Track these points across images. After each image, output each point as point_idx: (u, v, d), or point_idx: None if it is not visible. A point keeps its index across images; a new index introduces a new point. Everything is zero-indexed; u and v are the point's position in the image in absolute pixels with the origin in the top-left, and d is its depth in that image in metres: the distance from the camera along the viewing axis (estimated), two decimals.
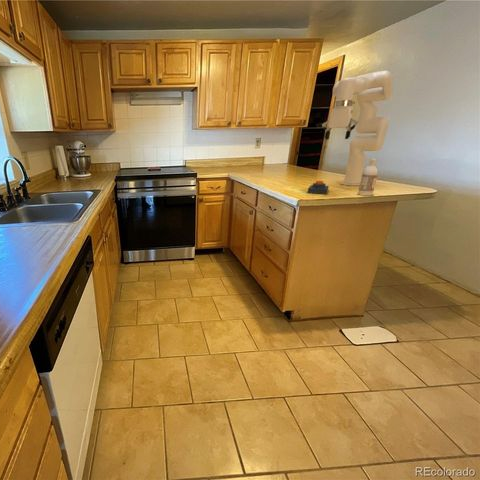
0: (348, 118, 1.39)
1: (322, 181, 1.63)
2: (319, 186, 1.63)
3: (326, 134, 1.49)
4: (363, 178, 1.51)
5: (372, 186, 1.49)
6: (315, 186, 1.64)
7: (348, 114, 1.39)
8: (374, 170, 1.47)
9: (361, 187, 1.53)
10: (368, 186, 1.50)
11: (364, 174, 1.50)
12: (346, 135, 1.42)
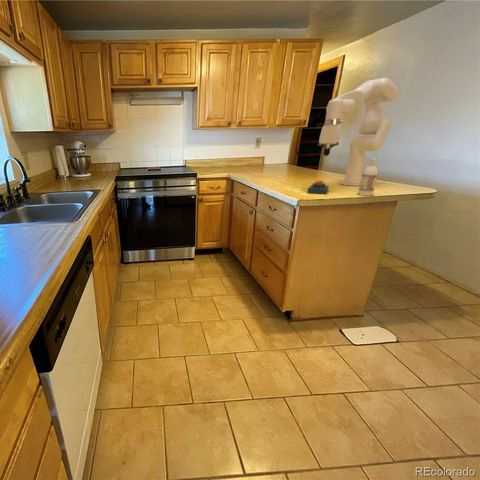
0: (338, 135, 1.53)
1: (322, 181, 1.63)
2: (319, 186, 1.63)
3: (325, 151, 1.60)
4: (363, 178, 1.51)
5: (372, 186, 1.49)
6: (315, 186, 1.64)
7: (338, 131, 1.53)
8: (374, 170, 1.47)
9: (361, 187, 1.53)
10: (368, 186, 1.50)
11: (364, 174, 1.50)
12: (327, 152, 1.59)
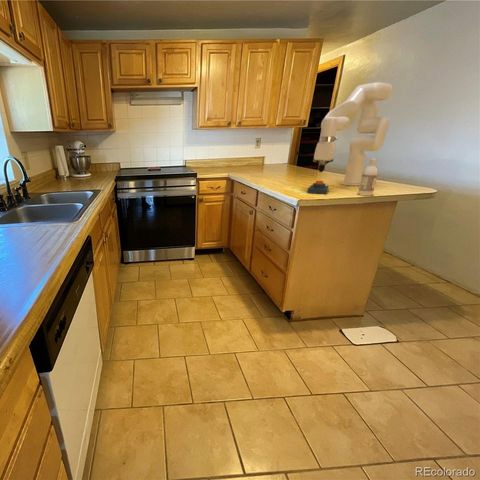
0: (332, 152, 1.54)
1: (322, 181, 1.63)
2: (319, 186, 1.63)
3: (320, 167, 1.61)
4: (363, 178, 1.51)
5: (372, 186, 1.49)
6: (315, 186, 1.64)
7: (332, 149, 1.54)
8: (374, 170, 1.47)
9: (361, 187, 1.53)
10: (368, 186, 1.50)
11: (364, 174, 1.50)
12: (322, 169, 1.60)
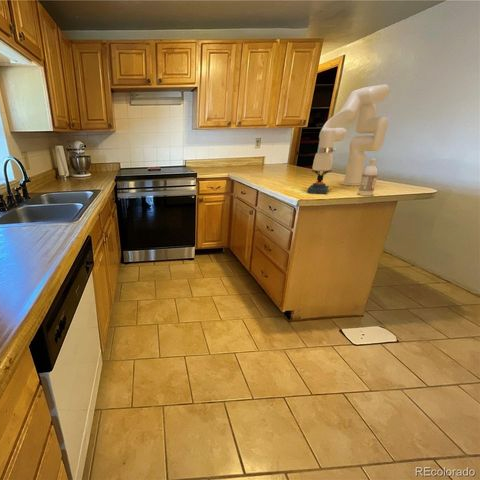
0: (331, 163, 1.57)
1: (322, 182, 1.63)
2: (319, 186, 1.63)
3: (318, 177, 1.63)
4: (363, 178, 1.51)
5: (372, 186, 1.49)
6: (315, 186, 1.64)
7: (331, 159, 1.56)
8: (374, 170, 1.47)
9: (361, 187, 1.53)
10: (368, 186, 1.50)
11: (364, 174, 1.50)
12: (320, 179, 1.63)
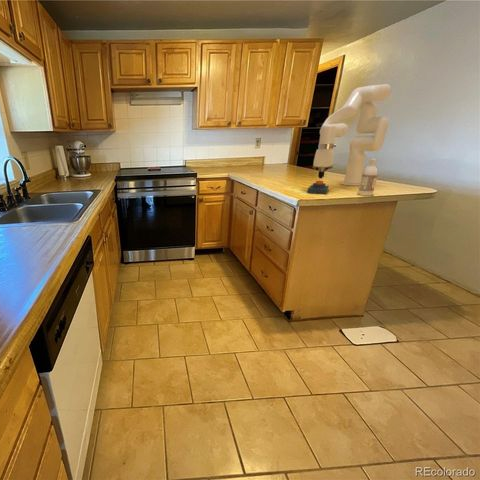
0: (332, 159, 1.56)
1: (322, 181, 1.63)
2: (319, 186, 1.63)
3: (319, 174, 1.62)
4: (363, 178, 1.51)
5: (372, 186, 1.49)
6: (315, 186, 1.64)
7: (331, 156, 1.55)
8: (374, 170, 1.47)
9: (361, 187, 1.53)
10: (368, 186, 1.50)
11: (364, 174, 1.50)
12: (321, 175, 1.62)
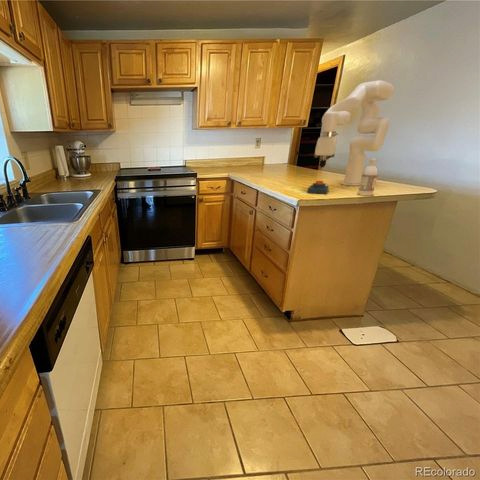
0: (334, 147, 1.54)
1: (322, 181, 1.63)
2: (319, 186, 1.63)
3: (321, 162, 1.60)
4: (363, 178, 1.51)
5: (372, 186, 1.49)
6: (315, 186, 1.64)
7: (334, 144, 1.53)
8: (374, 170, 1.47)
9: (361, 187, 1.53)
10: (368, 186, 1.50)
11: (364, 174, 1.50)
12: (323, 164, 1.59)
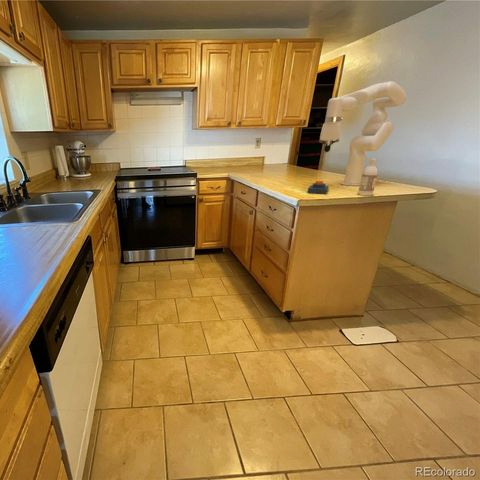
0: (338, 132, 1.60)
1: (322, 181, 1.63)
2: (319, 186, 1.63)
3: (326, 147, 1.66)
4: (363, 178, 1.51)
5: (372, 186, 1.49)
6: (315, 186, 1.64)
7: (338, 129, 1.59)
8: (374, 170, 1.47)
9: (361, 187, 1.53)
10: (368, 186, 1.50)
11: (364, 174, 1.50)
12: (328, 149, 1.66)
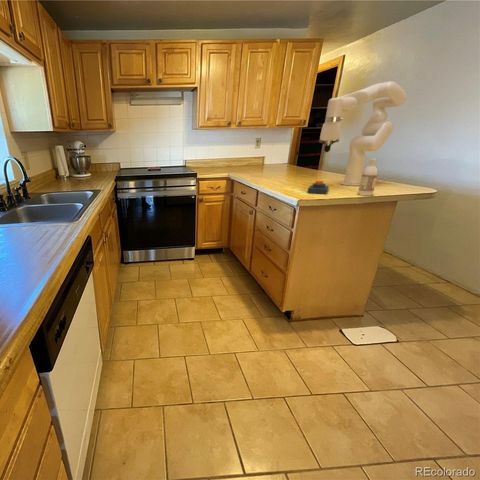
0: (338, 132, 1.60)
1: (322, 181, 1.63)
2: (319, 186, 1.63)
3: (326, 147, 1.66)
4: (363, 178, 1.51)
5: (372, 186, 1.49)
6: (315, 186, 1.64)
7: (338, 129, 1.59)
8: (374, 170, 1.47)
9: (361, 187, 1.53)
10: (368, 186, 1.50)
11: (364, 174, 1.50)
12: (328, 149, 1.66)
